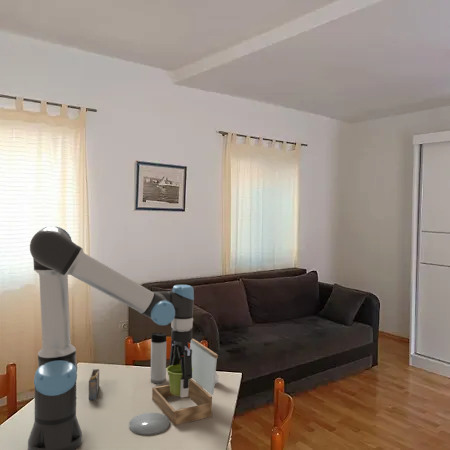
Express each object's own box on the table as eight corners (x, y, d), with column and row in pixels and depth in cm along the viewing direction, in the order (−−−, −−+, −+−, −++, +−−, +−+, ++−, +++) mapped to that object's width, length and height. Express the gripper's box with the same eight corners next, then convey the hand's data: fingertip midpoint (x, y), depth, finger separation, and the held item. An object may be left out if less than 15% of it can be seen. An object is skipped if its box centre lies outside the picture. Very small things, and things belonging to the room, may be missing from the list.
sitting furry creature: (203, 377, 186) (204, 349, 186) (222, 380, 183) (223, 352, 183) (194, 385, 178) (194, 356, 177) (213, 388, 174) (214, 359, 174)
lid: (215, 354, 151) (217, 354, 152) (190, 338, 170) (193, 338, 170) (211, 394, 151) (214, 394, 152) (187, 374, 170) (189, 374, 170)
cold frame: (173, 425, 145) (173, 404, 144) (152, 399, 164) (152, 381, 163) (211, 416, 151) (211, 396, 151) (186, 392, 170) (187, 374, 170)
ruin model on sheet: (97, 400, 163) (97, 374, 163) (88, 400, 163) (88, 374, 162) (100, 388, 174) (100, 363, 174) (92, 388, 174) (92, 364, 173)
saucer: (136, 438, 136) (136, 435, 136) (124, 420, 147) (124, 417, 147) (175, 429, 142) (175, 426, 142) (161, 412, 153) (161, 409, 153)
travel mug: (146, 381, 181) (147, 333, 180) (157, 376, 186) (158, 329, 185) (157, 385, 177) (158, 336, 176) (168, 379, 183) (169, 332, 182)
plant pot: (187, 399, 151) (188, 375, 151) (161, 396, 153) (163, 371, 153) (195, 389, 160) (196, 365, 160) (170, 386, 162) (171, 362, 162)
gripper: (204, 335, 149) (201, 401, 150) (180, 320, 167) (178, 379, 168) (183, 337, 145) (180, 405, 146) (161, 322, 164) (159, 382, 164)
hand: (179, 391), depth 157 cm, fingers closed on plant pot, 8 cm apart
